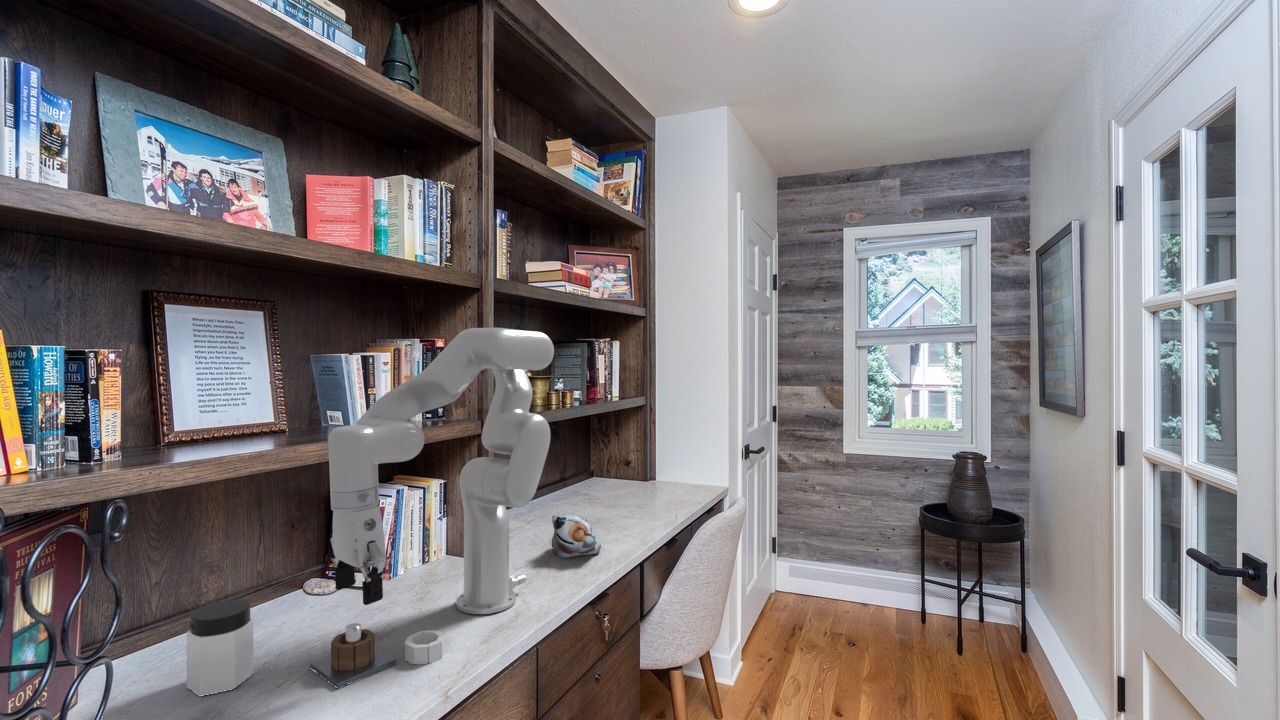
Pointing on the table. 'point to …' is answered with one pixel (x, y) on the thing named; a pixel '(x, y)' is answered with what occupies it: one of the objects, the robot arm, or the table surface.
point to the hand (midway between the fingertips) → (358, 594)
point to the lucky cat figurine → (573, 537)
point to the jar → (219, 647)
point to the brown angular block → (352, 651)
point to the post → (345, 677)
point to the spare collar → (424, 647)
